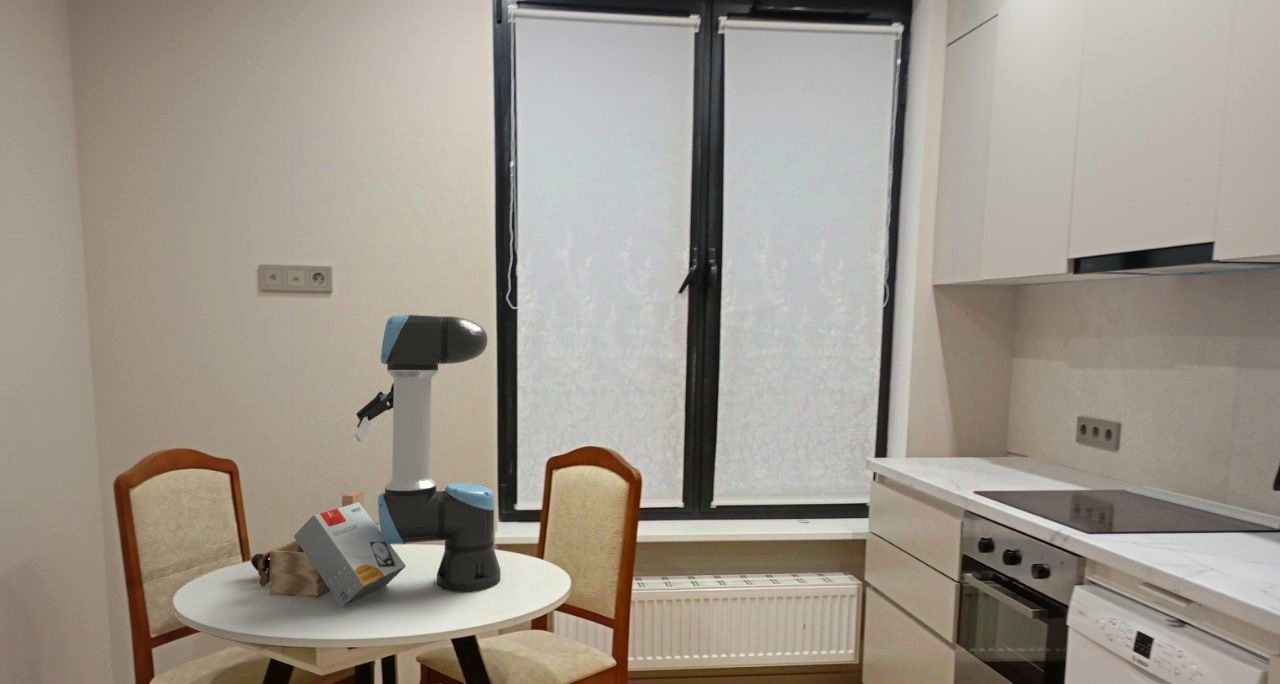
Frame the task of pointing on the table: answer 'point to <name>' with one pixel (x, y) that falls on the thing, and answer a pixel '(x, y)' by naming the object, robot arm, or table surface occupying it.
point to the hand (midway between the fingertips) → (380, 438)
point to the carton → (294, 573)
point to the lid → (354, 500)
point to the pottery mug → (262, 567)
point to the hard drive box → (349, 552)
